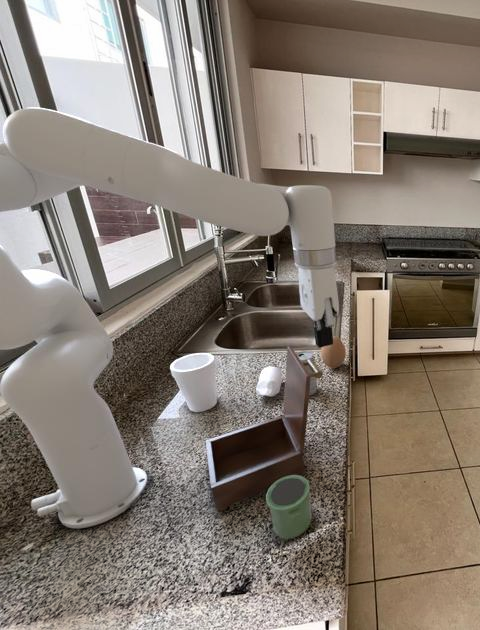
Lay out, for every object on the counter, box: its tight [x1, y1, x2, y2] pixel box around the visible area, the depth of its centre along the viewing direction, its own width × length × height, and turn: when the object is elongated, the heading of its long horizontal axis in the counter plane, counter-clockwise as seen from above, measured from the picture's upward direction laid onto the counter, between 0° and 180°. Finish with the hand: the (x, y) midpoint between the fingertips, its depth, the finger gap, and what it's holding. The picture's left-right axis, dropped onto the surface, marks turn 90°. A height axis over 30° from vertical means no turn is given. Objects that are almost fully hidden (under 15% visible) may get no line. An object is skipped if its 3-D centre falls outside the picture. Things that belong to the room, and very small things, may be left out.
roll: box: [255, 366, 283, 397], centre depth 95 cm, size 6×12×6 cm, turn 16°
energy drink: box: [296, 350, 318, 396], centre depth 95 cm, size 5×5×12 cm
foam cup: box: [169, 352, 218, 413], centre depth 89 cm, size 10×9×13 cm
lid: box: [282, 345, 324, 452], centre depth 72 cm, size 17×14×5 cm
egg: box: [320, 335, 347, 369], centre depth 109 cm, size 8×8×11 cm
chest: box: [205, 414, 306, 512], centre depth 70 cm, size 16×14×6 cm
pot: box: [265, 475, 313, 540], centre depth 59 cm, size 7×9×8 cm
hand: (324, 344), depth 70 cm, fingers closed
